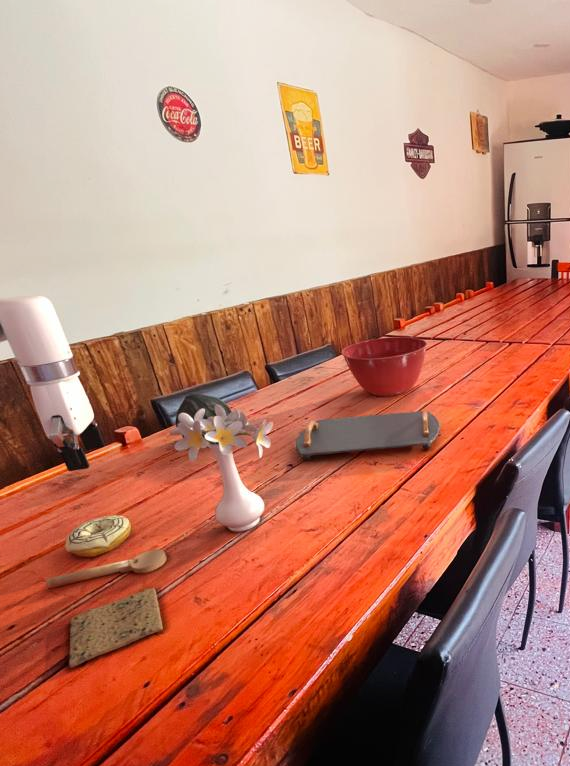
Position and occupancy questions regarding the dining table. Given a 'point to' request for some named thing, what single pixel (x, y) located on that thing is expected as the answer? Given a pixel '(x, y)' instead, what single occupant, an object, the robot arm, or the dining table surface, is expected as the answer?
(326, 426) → the serving tray
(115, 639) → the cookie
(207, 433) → the flower vase
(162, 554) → the spoon
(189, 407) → the squash
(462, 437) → the dining table surface
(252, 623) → the dining table surface
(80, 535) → the decorated donut
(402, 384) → the mixing bowl
